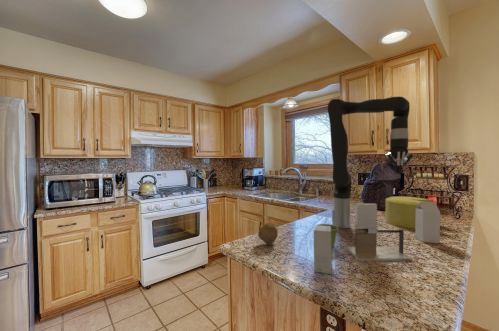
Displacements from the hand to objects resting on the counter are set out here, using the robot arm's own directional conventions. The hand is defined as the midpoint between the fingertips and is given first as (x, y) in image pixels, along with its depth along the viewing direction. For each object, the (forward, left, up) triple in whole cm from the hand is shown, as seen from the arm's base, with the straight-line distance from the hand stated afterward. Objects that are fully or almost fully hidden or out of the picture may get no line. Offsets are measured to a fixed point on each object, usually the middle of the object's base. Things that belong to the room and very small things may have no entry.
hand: (398, 173), depth 112 cm
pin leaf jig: (-6, -27, -33) cm, 43 cm away
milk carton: (+12, +6, -33) cm, 36 cm away
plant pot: (-26, -29, -33) cm, 51 cm away
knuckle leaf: (-10, -30, -24) cm, 39 cm away
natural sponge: (-49, -44, -33) cm, 74 cm away
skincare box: (-21, -52, -33) cm, 65 cm away
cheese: (+5, +39, -33) cm, 52 cm away
